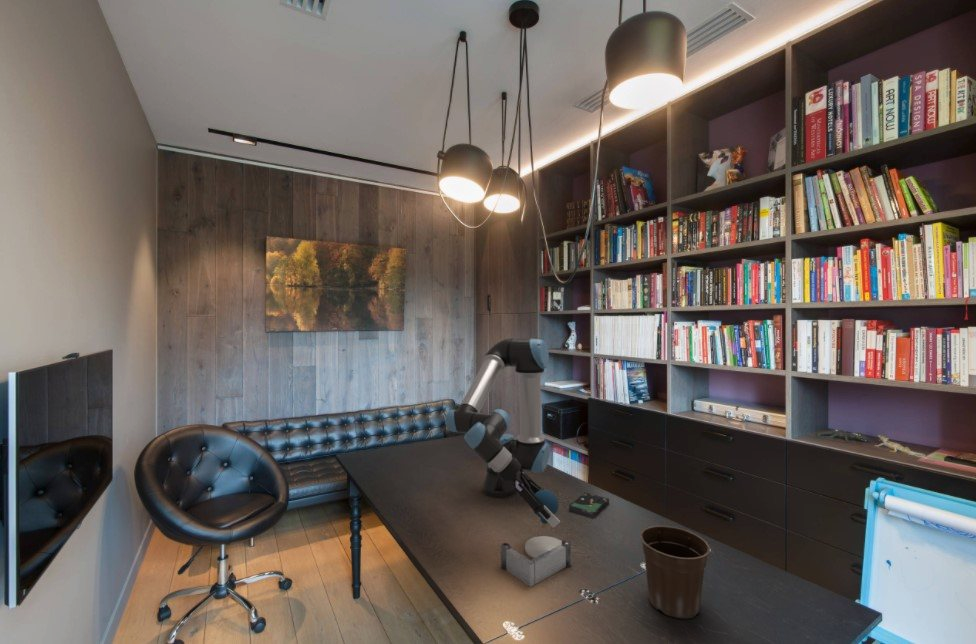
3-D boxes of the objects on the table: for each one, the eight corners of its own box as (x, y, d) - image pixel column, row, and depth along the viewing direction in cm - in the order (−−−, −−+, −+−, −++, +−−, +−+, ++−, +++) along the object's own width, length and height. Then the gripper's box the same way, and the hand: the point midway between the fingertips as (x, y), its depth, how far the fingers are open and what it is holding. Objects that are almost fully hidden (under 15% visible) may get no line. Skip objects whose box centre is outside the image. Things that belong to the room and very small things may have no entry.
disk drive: (584, 499, 172) (568, 512, 160) (584, 492, 172) (568, 504, 160) (609, 505, 166) (594, 519, 154) (609, 498, 166) (594, 511, 154)
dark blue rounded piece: (537, 537, 128) (537, 497, 128) (527, 524, 136) (527, 486, 136) (562, 533, 130) (563, 494, 130) (551, 520, 138) (551, 484, 138)
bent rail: (541, 546, 135) (541, 526, 135) (573, 564, 125) (573, 543, 125) (498, 567, 124) (498, 545, 124) (530, 588, 114) (530, 565, 114)
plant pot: (689, 582, 117) (689, 524, 116) (723, 625, 100) (724, 557, 100) (631, 584, 116) (630, 525, 116) (656, 627, 100) (656, 559, 100)
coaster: (544, 535, 142) (544, 532, 142) (575, 551, 132) (575, 548, 132) (516, 548, 134) (516, 545, 134) (546, 566, 124) (546, 563, 124)
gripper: (498, 461, 145) (546, 510, 143) (493, 485, 124) (548, 543, 122) (514, 446, 144) (561, 495, 143) (511, 467, 123) (567, 525, 122)
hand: (555, 517), depth 132 cm, fingers closed on dark blue rounded piece, 8 cm apart
